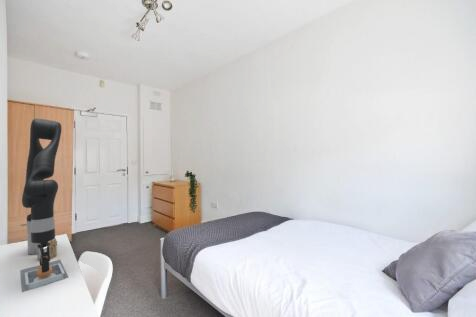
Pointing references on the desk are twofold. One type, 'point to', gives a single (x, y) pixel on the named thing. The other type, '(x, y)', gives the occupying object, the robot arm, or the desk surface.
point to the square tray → (44, 281)
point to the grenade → (51, 249)
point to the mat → (36, 275)
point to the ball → (45, 274)
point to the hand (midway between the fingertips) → (44, 268)
